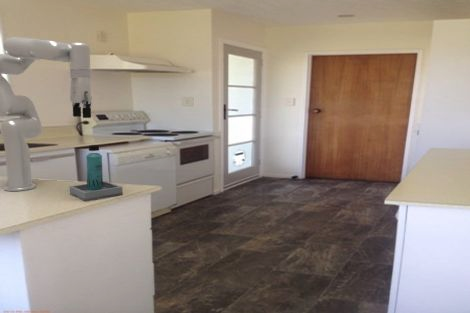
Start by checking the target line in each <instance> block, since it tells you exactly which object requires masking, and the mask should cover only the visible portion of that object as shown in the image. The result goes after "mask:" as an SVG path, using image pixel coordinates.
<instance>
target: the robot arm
mask: <svg viewBox="0 0 470 313" xmlns="http://www.w3.org/2000/svg"><path fill="white" fill-rule="evenodd" d="M2 47H3V49H4V51H5V54H3V53H0V116H1V117H8V118H7V119H5V120H4V121H2V123H1V124H0V134H1V137H2V141H3V145H4V146H3V147H4V154H5V155H4V156H5V164H6V165H5V166H6V177H7V185H5V186H4V187H3V188H4V191H6V192H20V191H28V190H32V189H34V188H36V187H37V184H36V183H33V180H32V166H31V154H30V147H29V145H28V143H27V142H26V140H28V139H33V138H34V139H35V138H38V137H39V136H40V135H41V134H42V132H43V127H42V126H43V125H42V122H41V120H40V117H39V114H38V112H37V111H38V110H37V109H36V107H35V104H34V102H33V101H32V99H30V97H28V96H26V95H20V94H19V95H17V94H15V93H14V91H13V89H12V86H11V84H10V82H9V81H8V80H7V79H6V78H5V77H4V76H3V74H4V75H15V76H17V75H22V74H23V73H24V72H26V71H27V69H28V68H30V67H31V65H32V64H33V63H34V62H35V61H40V60H45V61H52V62H53V61H54V62H62V63H69V67H70V68H69V69H70V89H69V90H70V94H69V95H70V97H69V98H70V103H71V106H72V116H73V117H75V118H76V117H77V118H78V117H82V118H83V119H91V118H92V112H91V111H92V100H93V99H92V92H91V91H92V90H91V83H90V82H91V80H90V79H91V54H90V52H91V51H90V50H91V49H90V45H88V44H87V43H84V42H71V43H66V42H61V41H56V40H47V39H39V38H31V37H30V38H29V37H19V36H12V37H8V38H7V39H5V40H4V42H3V46H2ZM6 53H7V54H6ZM81 105H82V106H81ZM9 117H13V118H9Z"/></svg>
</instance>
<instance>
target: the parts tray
mask: <svg viewBox="0 0 470 313" xmlns="http://www.w3.org/2000/svg"><path fill="white" fill-rule="evenodd" d="M69 195H70V196H72V197H75V198H77V199H79V200H81V201H83V202H89V201H90V202H91V201H96V200H102V199H107V198H108V199H109V198H112V197H113V198H114V197H118V196H123V186H121V185H118V184H115V183H112V182H109V181H107V180H103V189H101V190H88V188H87V183H84V184H83V183H82V184H76V185H70V186H69Z"/></svg>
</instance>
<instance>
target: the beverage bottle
mask: <svg viewBox="0 0 470 313" xmlns="http://www.w3.org/2000/svg"><path fill="white" fill-rule="evenodd" d="M88 151H90V152H91V153H88V154H87V155H85V157H86V184H87V188H88V190H101V189H103V181H104V178H103V176H104V175H103V155H102V154H101V153H99V151H100V146H99V145H98V144H92V145H89V146H88ZM97 151H98V152H97Z"/></svg>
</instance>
